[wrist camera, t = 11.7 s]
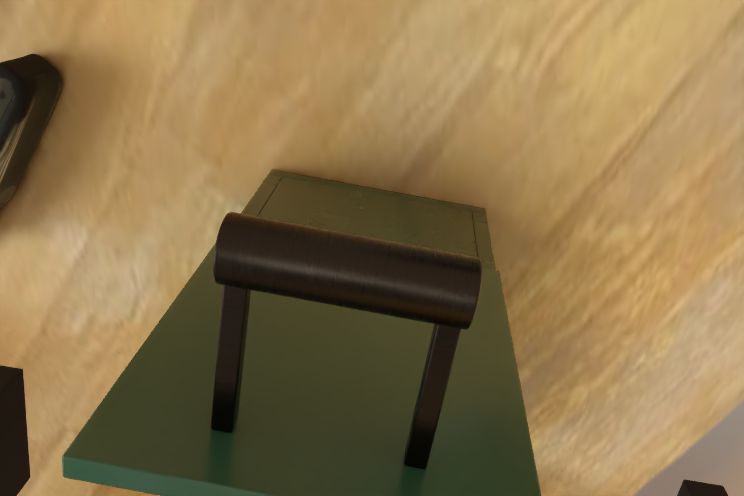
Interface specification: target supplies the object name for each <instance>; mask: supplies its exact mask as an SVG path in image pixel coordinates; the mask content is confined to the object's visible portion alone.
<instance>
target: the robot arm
mask: <svg viewBox="0 0 744 496" xmlns="http://www.w3.org/2000/svg"><path fill="white" fill-rule="evenodd" d="M29 478H30V466H29V451H28V437H27V423H26V408H25V394H24V380H23V369H18V368H12V367H6V366H0V496H17V494H18V493H19V492H20V490H21V489H22V488H23V486H24V485H25V484H26V482H27V481H28V480H29ZM677 496H728V494H727V493H726V491H725V489H724V487H723V486H720V485H714V484H707V483H702V482H696V481H690V480H684V481H683V483H682V486H681V488H680V490H679V493H678V495H677Z"/></svg>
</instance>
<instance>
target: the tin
mask: <svg viewBox="0 0 744 496" xmlns="http://www.w3.org/2000/svg"><path fill="white" fill-rule="evenodd" d="M241 214H245V215H250V216H255V217H261V218H266V219H272V220H277V221H283V222H288V223H294V224H299V225H304V226H310V227H315V228H321V229H326V230H332V231H337V232H342V233H348V234H353V235H359V236H364V237H370V238H375V239H380V240H386V241H391V242H397V243H402V244H408V245H413V246H418V247H424V248H429V249H435V250H440V251H446V252H451V253H457V254H462V255H467V256H473V257H478V258H480V259H481V262H482V268H487V269H492V270H496V269H495V263H494V257H493V252H492V246H491V240H490V235H489V229H488V223H487V218H486V211H485V209H484V208H478V207H473V206H467V205H462V204H456V203H451V202H446V201H440V200H435V199H429V198H424V197H418V196H413V195H407V194H402V193H397V192H391V191H386V190H380V189H375V188H369V187H364V186H358V185H353V184H347V183H342V182H337V181H331V180H326V179H320V178H315V177H309V176H304V175H298V174H293V173H287V172H282V171H277V170H271V171H270V173H269V174H268V176H267V177H266V178H265V180H264V181H263V183H262V184H261V186H260V187H259V188H258V190H257V191H256V193H255V194H254V196H253V197H252V199H251V200H250V201H249V203H248V204H247V206H246V207H245V209H244V210H243V211H242V213H241Z"/></svg>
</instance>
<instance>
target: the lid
mask: <svg viewBox="0 0 744 496" xmlns="http://www.w3.org/2000/svg"><path fill="white" fill-rule="evenodd" d="M62 462H63V477H65V478H70V479H75V480H81V481H86V482H91V483H97V484H102V485H107V486H113V487H118V488H123V489H129V490H134V491H139V492H145V493H150V494H155V495H161V496H541V491H540V486H539V481H538V476H537V470H536V465H535V460H534V454H533V449H532V444H531V438H530V433H529V428H528V423H527V417H526V412H525V407H524V401H523V396H522V391H521V385H520V380H519V375H518V370H517V364H516V359H515V354H514V348H513V343H512V338H511V332H510V327H509V322H508V316H507V311H506V306H505V301H504V295H503V290H502V285H501V279H500V274H499V271H497V270H492V269H487V268H482V262H481V259H480V258H478V257H473V256H467V255H462V254H457V253H451V252H446V251H440V250H435V249H429V248H424V247H418V246H413V245H408V244H402V243H397V242H391V241H386V240H380V239H375V238H370V237H364V236H359V235H353V234H348V233H342V232H337V231H332V230H326V229H321V228H315V227H310V226H304V225H299V224H294V223H288V222H283V221H277V220H272V219H266V218H261V217H255V216H250V215H245V214H239V213H234V212H230V213H228V214H227V215H226V216H225V218H224V220H223V222H222V224H221V227H220V230H219V233H218V236H217V240H216V243H215V245H214V246H213V248H212V249H211V250H210V252H209V253H208V255H207V256H206V257H205V259H204V260H203V261H202V263H201V264H200V266H199V267H198V268H197V270H196V271H195V273H194V274H193V275H192V277H191V278H190V280H189V281H188V282H187V284H186V285H185V287H184V288H183V289H182V291H181V292H180V293H179V295H178V296H177V298H176V299H175V300H174V302H173V303H172V305H171V306H170V307H169V309H168V310H167V312H166V313H165V314H164V316H163V317H162V318H161V320H160V321H159V323H158V324H157V325H156V327H155V328H154V330H153V331H152V332H151V334H150V335H149V337H148V338H147V339H146V341H145V342H144V344H143V345H142V346H141V348H140V349H139V350H138V352H137V353H136V355H135V356H134V357H133V359H132V360H131V362H130V363H129V364H128V366H127V367H126V369H125V370H124V371H123V373H122V374H121V375H120V377H119V378H118V380H117V381H116V382H115V384H114V385H113V387H112V388H111V389H110V391H109V392H108V394H107V395H106V396H105V398H104V399H103V401H102V402H101V403H100V405H99V406H98V407H97V409H96V410H95V412H94V413H93V414H92V416H91V417H90V419H89V420H88V421H87V423H86V424H85V426H84V427H83V428H82V430H81V431H80V432H79V434H78V435H77V437H76V438H75V439H74V441H73V442H72V444H71V445H70V446H69V448H68V449H67V451H66V452H65V453H64V455H63V457H62Z"/></svg>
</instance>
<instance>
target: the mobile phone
mask: <svg viewBox="0 0 744 496" xmlns="http://www.w3.org/2000/svg"><path fill="white" fill-rule="evenodd" d="M61 87H62V82H61V78H60V75H59V73H58V71H57V70H56V68H55V67H54V66H53V65H51V64H50V63H49V62H48V61H47V60H45V59H44V58H42V57H41V56H39V55H37V54H30V55H27V56H24V57H21V58H17V59H13V60H9V61H5V62H1V63H0V209H1V208H2V206H3V205H4V204H5V203H7V202H8V201H9V200H10V198H11V197H12V196H13V194H14V192H15V190H16V188H17V186H18V183H19V181H20V179H21V177H22V174H23V172H24V170H25V168H26V166H27V164H28V162H29V160H30V158H31V156H32V154H33V152H34V150H35V148H36V146H37V144H38V142H39V139H40V137H41V134H42V132H43V130H44V128H45V125H46V123H47V121H48V119H49V117H50V115H51V113H52V111H53V109H54V106H55V104H56V102H57V100H58V96H59V93H60V91H61Z"/></svg>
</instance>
